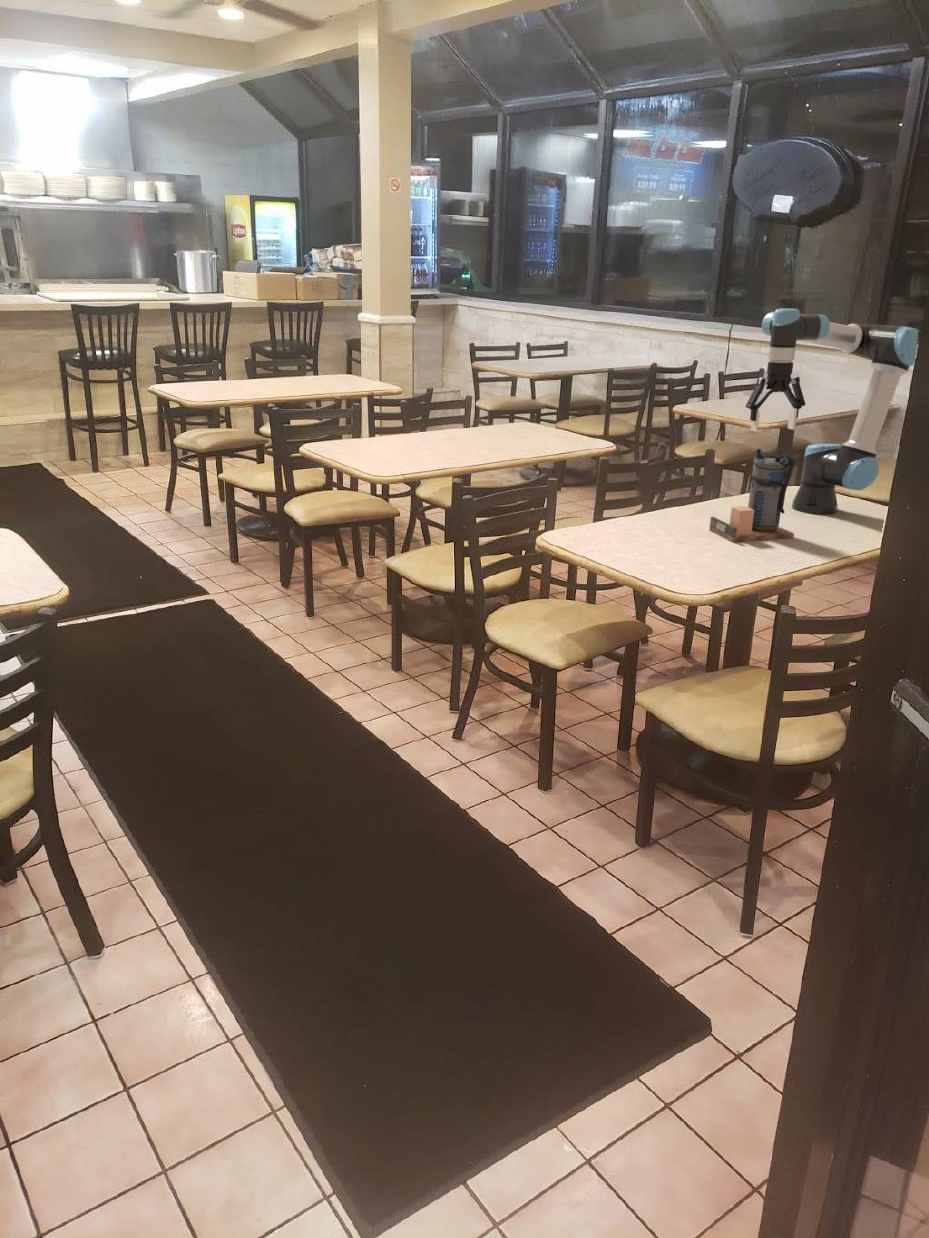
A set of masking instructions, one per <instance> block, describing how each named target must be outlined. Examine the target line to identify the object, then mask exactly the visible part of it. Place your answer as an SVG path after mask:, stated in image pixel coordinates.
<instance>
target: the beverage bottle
mask: <svg viewBox="0 0 929 1238" xmlns="http://www.w3.org/2000/svg"><path fill="white" fill-rule="evenodd" d="M761 450H762V449H761V448H757V449H756V450H755V452H754V454H753V456H752V473H751V475H752V477H753V480H752V481H751V482H750V490H749V497H748V505H747V507H749V508H751V509H753V510H754V517H753V525H752V529H753V530H757V531H772V530H776V529H777V528H778V526H779V527H780V521H781V520H780V519H781V514H782V515H783V514H785V510H784V504H785V497H786V491H787V489H788V485H789V483H790V479H791V477H792V473H793V470H794V468H795V462H796V461H795V459H794V458H793V457H792V455H787V454H782V455H776V454H770V455H761ZM783 481H784V482H783Z"/></svg>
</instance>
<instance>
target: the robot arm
mask: <svg viewBox="0 0 929 1238" xmlns="http://www.w3.org/2000/svg"><path fill="white" fill-rule="evenodd" d="M761 329H762V332H763V333H764V334H765V335H766V336H770V344H769V352H768V360H769V361H768V363H767V366H766V367H767V368H766V372H767V377H766V378H764V377H758V378H757V380H756V381H757V382H756V384H755V385H756V386H755V387H754V389H753V391H752V392H751V395H750V396H749V398H748V401H747V403H746V404H745V408H746V409H749V410H750V418H749V420H750V421H751V423H750V424H751V425H750V431H751V432H755V433H758V431H759V423H760V416H761V415H760V414H761V411H760V410H759V409H760V408H761V406H762V405H763V404H764V403H765V401H766V400H767V399H768V398H769V396H770V395H772V394H773V393H784V394H785V396H786V398H787V400H788V402H789V403H790V404H791V406H792V407H789V412H788V413H789V414H788V422H787V429H788V430H793V431H794V430H796V422H797V421H796V420H797V419H798V418H799V412H800V410H801V409H803V408H802V407H805V406H806V401H805V398H804V394H803V392H802V391H803V390H802V387H801V383H800V382H801V377H800V376H796V375H792V374H793V368H794V362H793V361H794V360H795V354H796V353H795V352H796V345H797V341H798V342H799V341H800V342H804V343H810V344H814V345H819V346H825V347H831V348H837V349H839V350H840V351H841V352H843V353H846V354H850V355H854V356H856V357H859V358H862V359H865V360H870V361H871V364H870V365H871V367H872V369H873V372H872V375H871V378H870V380H869V383H868V386H867V389H866V391H865V394H864V397H863V399H862V403H861V405H860V408H859V411H858V413H857V415H856V419H855V421H854V424H853V427H852V429H851V431H850V434H849V438H848V440H847V441H845V442H843V443H842V444H839V443H815V444H814V443H813V444H810V445H808V446H806V448H805V451H804V452H805V453H804V456H803V464H802V471H801V478H800V479H801V480H800V483H799V484H800V486H799V488H798V490H797V492H796V494H795V496H794V498H793V500H792V503H791V508H792V509H794V510H797V511H799V512H804V513H809V514H820V515H821V514H822V515H823V514H825V515H826V514H834V513H837V511H838V506H839V505H838V500H837V494H836V486H837V487H841V488H844V489H846V490H854V491H863V490H865V489H867V488H868V487H869V486H871V485H872V484H873V483H874V482H875V480H876V479H877V477H878V475H879V473H880V472H879V470H880V467H879V461H878V460H877V459H876V457H877V455H878V453H877V450H876V448H875V447H876V444H877V441H878V439H879V435H880V433H881V431H882V427H883V425H884V422H885V420H886V417H887V415H888V412H889V409H890V406H891V404H892V401H893V398H894V396H895V393H896V390H897V387H898V385H899V381H900V379H901V377H903V376H904V375H906V374H907V373H908V372H909V369H910V367H911V366H914V365H915V364H914V361H915V355H916V350H917V339H918V332H920V330H918V329H917V328H914V327H910V326H904V325H888V324H887V325H886V324H857V323H850V324H847V325H846V324H842V323H841V324H840V323H837V322H833V321H832V322H831V321H830V320H829V317H828V316H827V315H825V314H819V313H815V314H805V313H801V312H800V310H799V309H798V308H778V309H776V310H775V311H770V312H768V313H767V314H766V315H764V317H763V319H762V322H761ZM790 384H791V387H792V388H791V387H790ZM792 390H793V391H792Z"/></svg>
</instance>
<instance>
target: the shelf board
mask: <svg viewBox="0 0 929 1238" xmlns="http://www.w3.org/2000/svg"><path fill="white" fill-rule="evenodd" d="M736 529H737V528H736V527H734V526H731V525H730V523H727V522H725V521H723V520H721V519H719V518H717V517H715V516H711V517H710V522H709V530H708V531H710V532H712V533H714V534H716V535H718V536H720V538H723V539H724V540H727V541H729V542H731V543H737V542H738V543H740V542H754V541H769V540H783V539H794V537H795V533H794V532H791V530H788V529H785V528H783V527H780V525H779V526H778V528H777V529H776V530H772V531H757V530H753V529H752V532H751V535H741V536H737V535H736Z"/></svg>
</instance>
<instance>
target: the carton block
mask: <svg viewBox="0 0 929 1238" xmlns="http://www.w3.org/2000/svg"><path fill="white" fill-rule="evenodd" d="M730 512H731V513H730V516H729V517H730V518H729V525H731V526H734V527H736V528H737V529H736V535H737V536H741V535H751V532H752V525H753V517H754V510H753V509H751V508H749V507H748V506H745V505H743V506H731V511H730Z"/></svg>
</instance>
